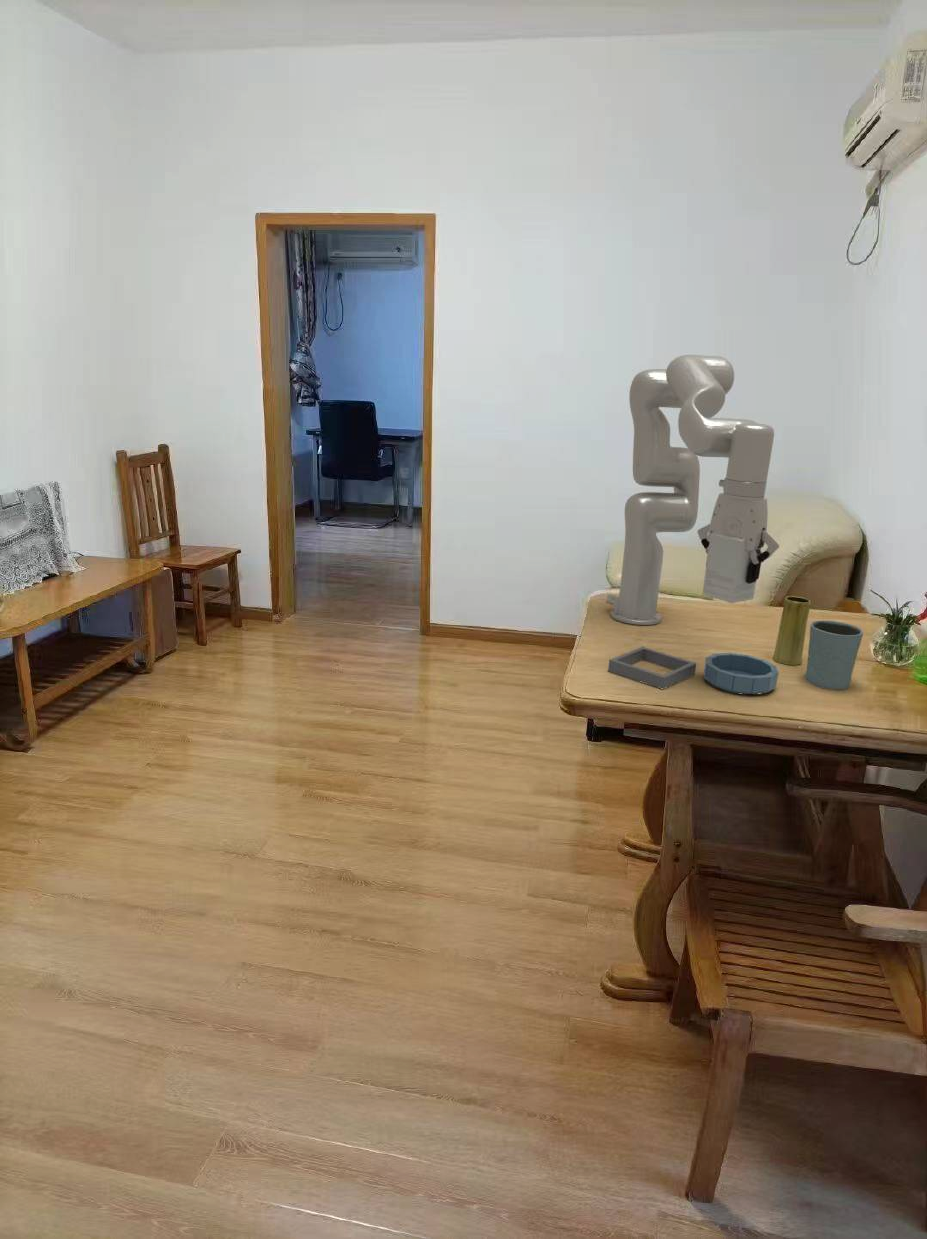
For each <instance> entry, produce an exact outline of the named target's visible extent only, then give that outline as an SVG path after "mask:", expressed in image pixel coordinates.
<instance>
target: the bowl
mask: <svg viewBox="0 0 927 1239" xmlns="http://www.w3.org/2000/svg"><path fill="white" fill-rule="evenodd" d="M778 675H779V670H778V667H777V666H776V665H775V664H773V663H771V662H769V661H768V660H765V659H763V658H759V657H756V656H752V655H748V654H742V653H735V652H734V653H733V652H722V653H721V652H720V653H712V654H710V655H708V656H706V657H705V659H704V665H703V678H704V680H706V681H707V682H708V683H709V685H712V687H713V688H716V687H717V689H718V688H719V690H722V691H724V692H727V693H731V694H736V693H742V694H758V693H764V694H766V693H765V692H767V693H769V692H771V691H773V690H774V689H775V688H776V687H777V682H778V677H779V676H778ZM742 694H741V695H742Z"/></svg>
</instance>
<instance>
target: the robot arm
mask: <svg viewBox="0 0 927 1239" xmlns="http://www.w3.org/2000/svg"><path fill="white" fill-rule="evenodd" d="M632 379H633V380H631V384H630V387H629V400H628V401H629V409H630V413H631V417H632V422H633V423H632V424H633V447H632V449H633V450H632V477H633V480H634V482H635V483H636V484H637V485H640V486H645V487H653V488H654V487H658V488H659V487H661V488H672V489H673V492H663V491H662V492H661V491H658V492H655V491H653V492H652V491H651V492H650V491H644V492H638V493H635V494H633V495H631V496H629V498H628V499H627V500H626V502H625V505H624V523H625V526H624V528H625V529H624V530H625V535H624V547H623V559H622V565H621V566H622V567H621V574H620V575H621V576H620V583H619V584H620V586H619V594H618V596H617V595H614V594H610V593H609V594H608V595H607V597H606V599H605V603H606V604H609V605H613V608H612V609H611V611H610V616H611V617H612V619H614V620H616V621H618V622H622V623H626V624H631V625H638V626H652V625H656V624H659V623H661V622H662V619H663V616H662V614H661V613H659V612H658V611H657V608H658V599H659V591H660V585H661V576H662V569H663V568H662V567H663V560H664V549H663V545H662V543H661V541H660V540H659V539H658V536H657V533H686V532H689V531H691V530H693V528H694V527H695V525H696V522H697V519H698V514H699V513H698V512H699V496H700V493H699V492H700V478H701V476H700V475H701V474H700V473H701V469H700V466H701V465H700V460H699V458H698V457H701V458H726V459H728V461H727V468H726V475H725V477H724V479H720V480H719V481H718V486H719V487H720V488H721V487H722V488H723V489H722V491H723V492H722V493H718V497H717V498H716V502H715V504H714V507H713V512H712V514H711V519H710V523H709V524H706V525H705V526H703V527H701V528H699V529H697V535H698V538H699V540H700V543H701V545H702V547H703V548H704V549H705V553H706V554H707V557H708V550H709V543H710V534H718V535H723V536H730V537H735V538H740V539H745V540H746V544H745V551H749V555H750V557H751V560H752V563H750V564H749V566H748V573H747V579H746V582H747V583H749V584H750V583H753V582H756V583H757V581H758V579H759V578H760V573H761V567H762V563H764V562H765V561H766V560H768V559H769V558H770V557H772V555H773V554H774V553H775V552H776V551H777V550H778V549H779V548H780V545H779V543H778V542H777V541H776V540H775V539H774V538H773V536H771V535H770V534H769V533H768V532H767V529H768V518H769V517H768V513H769V512H768V499H767V498H765V495H766V488H767V482H768V476H769V469H770V464H771V463H770V462H771V457H772V451H773V444H774V437H775V431H774V428H773V427H772V426H771V425H768V424H765V423H758V422H756V421H753V420H752V419H751V420H750V419H743V418H728V417H723V418H722V417H715V416H716V415H717V414H718V413H719V412H720V411H721V410H722V408H723V407H724V404H725V401H726V395H727V394H729V392H730V391H731V389H732V388H733V385H734V382H735V369H734V367H733V365H732V363H731V362H730V361H729V360H728V359H727V358H726V357H722V356H718V355H717V356H715V355H698V354H684V355H680V356H677V357H675V358H674V359H673V360H671V361H670V362H669V364H668V366H667V367H666V369H664V368H652V369H646V370H642V371H639V372H638V373H637V374H636V375H635V376H634V378H632ZM660 408H671V409H680V411H679V413H678V420H677V424H678V426H677V427H678V433H679V436H680V438H681V440H682V441H683V443H684V444H685V446H686V447H681V446H680V447H678V446H676V447H675V446H672V445H671V441H670V440H671V424H670V422H669V420H668V418H667V417H666V415H665V414H664V413H663V411H662V410H661V409H660ZM759 542H760V544H759ZM765 545H766V546H767V548H766V549H765V550H764V551H762V548H763V547H764V546H765ZM760 548H761V549H760ZM755 550H756V551H755ZM707 557H706V558H707ZM706 564H707V561H706V562H705V565H706Z"/></svg>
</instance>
